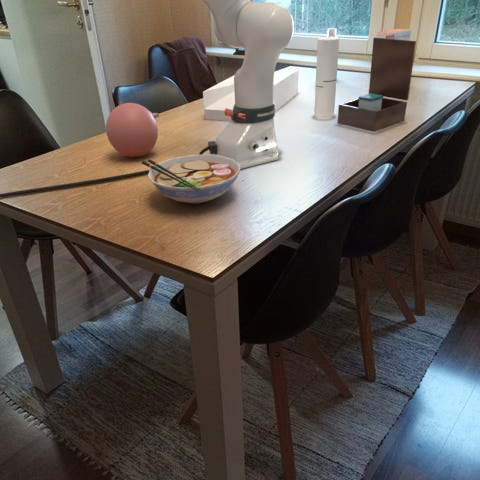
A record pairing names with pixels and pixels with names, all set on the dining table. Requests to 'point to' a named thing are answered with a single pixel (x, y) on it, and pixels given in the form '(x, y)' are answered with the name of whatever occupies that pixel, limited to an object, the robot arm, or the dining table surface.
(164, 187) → the ramen bowl
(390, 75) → the lid
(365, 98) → the white teal-lidded container
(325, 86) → the cylindrical container
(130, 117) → the balloon
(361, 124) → the chest
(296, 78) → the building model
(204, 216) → the dining table surface
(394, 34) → the cracker box
